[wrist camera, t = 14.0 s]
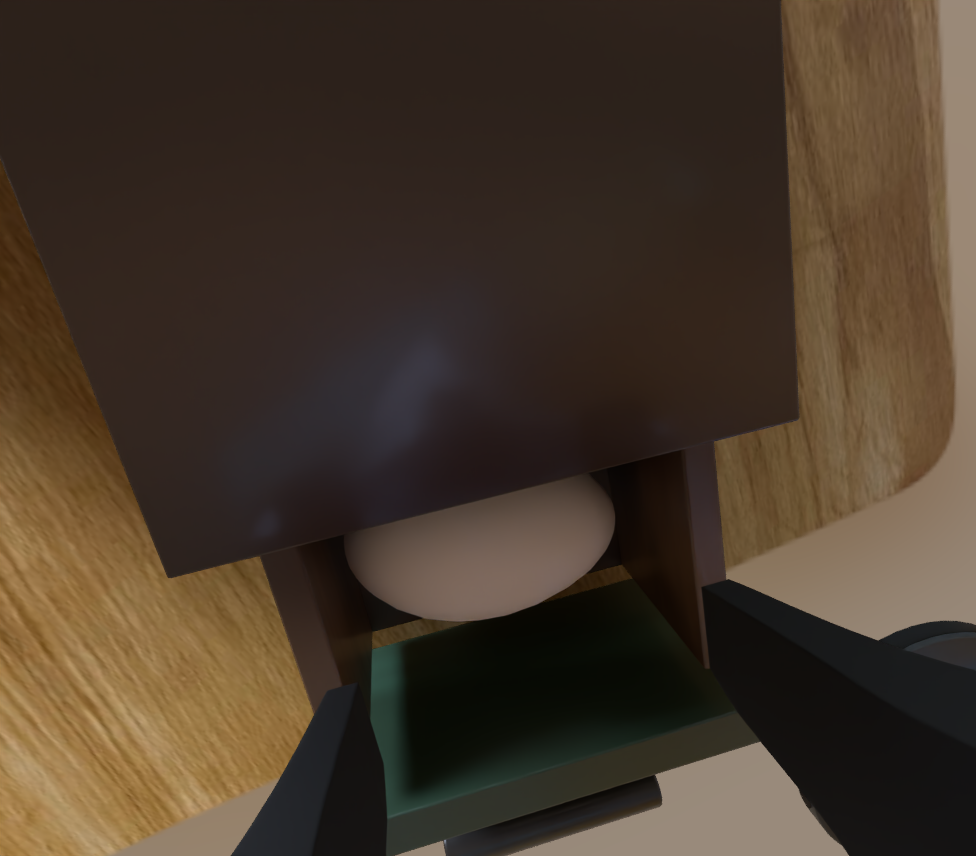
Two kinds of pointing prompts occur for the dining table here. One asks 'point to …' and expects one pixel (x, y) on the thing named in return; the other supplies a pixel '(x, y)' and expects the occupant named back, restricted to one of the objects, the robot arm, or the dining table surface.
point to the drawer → (534, 677)
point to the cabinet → (402, 245)
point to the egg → (486, 551)
